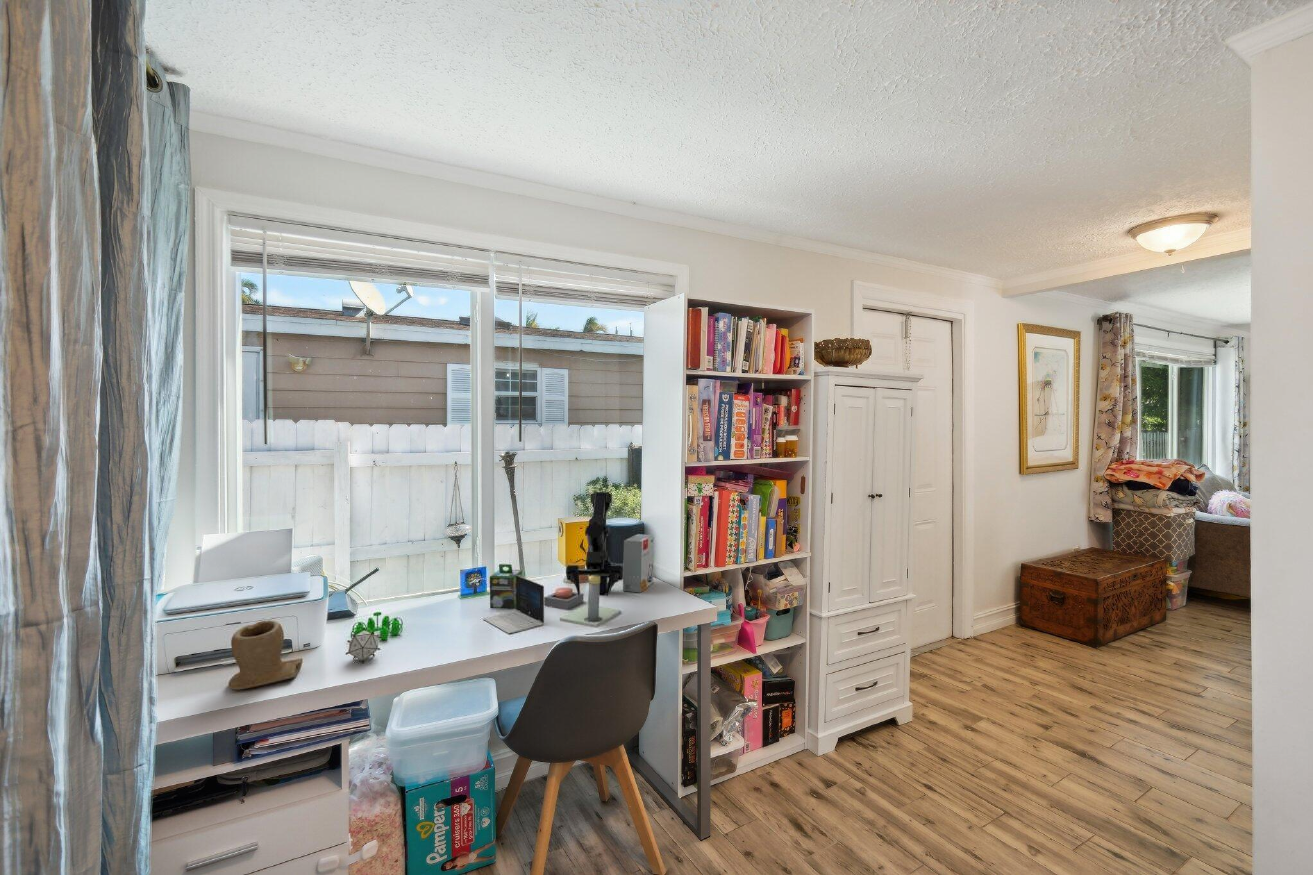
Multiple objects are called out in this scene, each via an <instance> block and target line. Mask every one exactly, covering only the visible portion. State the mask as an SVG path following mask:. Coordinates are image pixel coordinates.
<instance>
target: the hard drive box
mask: <svg viewBox="0 0 1313 875" xmlns="http://www.w3.org/2000/svg"><path fill="white" fill-rule="evenodd" d="M654 547H655V535H653V534H640V533H639V534H638V533H637V534H636V535H635V534H634V535H633V536H630V537H628V538H627V539H624V540H623V561H622V562H623V565H622V591H624V592H630V593H631V592H632V593H642V592H643V591H645V590H646V589H648V586H649V587H651V585H653V584H652V583H654V561H655V560H654V556H655V555H654V554H655V548H654Z"/></svg>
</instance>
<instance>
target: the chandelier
mask: <svg viewBox="0 0 1313 875" xmlns="http://www.w3.org/2000/svg"><path fill="white" fill-rule="evenodd" d="M372 615H373V617H376V623H375V620H374V619H373V617H369V618H368V619H367V622H366V623H365V622H362V621H357V622H356V623H354V624H353V626H352V628H351V629H352V630H351V632H350V638H351V639H352V638H353V636H352V634H354V635H357V634H358V633H360V632H362V631H364V630H363V628H364V627H365V628H366V629H365V630H366V631H368V632H370V633H372V632H374V633H375V632H379V634H380V635H379V637H380V636H381V638H380V639H379V640H386V641H387V640H388V638H389V635H390V636H395V635H396V636H399V635H400V634H402V632H403V628H404V627H403V624H404V623H403V622H404V621H403V619H402V618H401V617H397V616H396V617H394V618H392V619H390V617H389V615H384V616H383V618H382V619H381V625H380V626H379V616H382V612H381V611H376V612H373V614H372ZM400 622H401V623H400ZM356 624H357V625H356ZM390 626H391V628H390ZM399 629H400V630H399Z"/></svg>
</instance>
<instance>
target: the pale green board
mask: <svg viewBox="0 0 1313 875" xmlns="http://www.w3.org/2000/svg"><path fill="white" fill-rule="evenodd" d="M621 613H622V610H621V609H616V608H611V607H605V606H599V620H597V621H590V620H588V603H587V604H584V605H582V606H581V607H578V608H576V609H575V610H573V611H569V613H567V614H565V615H563V616H561V617H559V621H561V622H567V623H572V624H579V625H583V626H589V627H593V628H598V627H599V626H600V625H602V624H604V623H605V622H608V621H609V620H611V619H612V618H614V617H616V616H617V615H619V614H621Z"/></svg>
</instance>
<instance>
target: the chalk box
mask: <svg viewBox="0 0 1313 875" xmlns="http://www.w3.org/2000/svg"><path fill="white" fill-rule="evenodd" d="M498 567H499V569H498V570H497V571H494V572H493V574H491V575H489V606H490V607H489V608H496V609H500V608H501V609H513V610H514V609H516V575H518V576H520V577H523V570H522V569H513V566H512V564H510V563H509V564H508V563H507V564H506V563H500V564H499V565H498ZM504 568H507V569H504Z"/></svg>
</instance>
